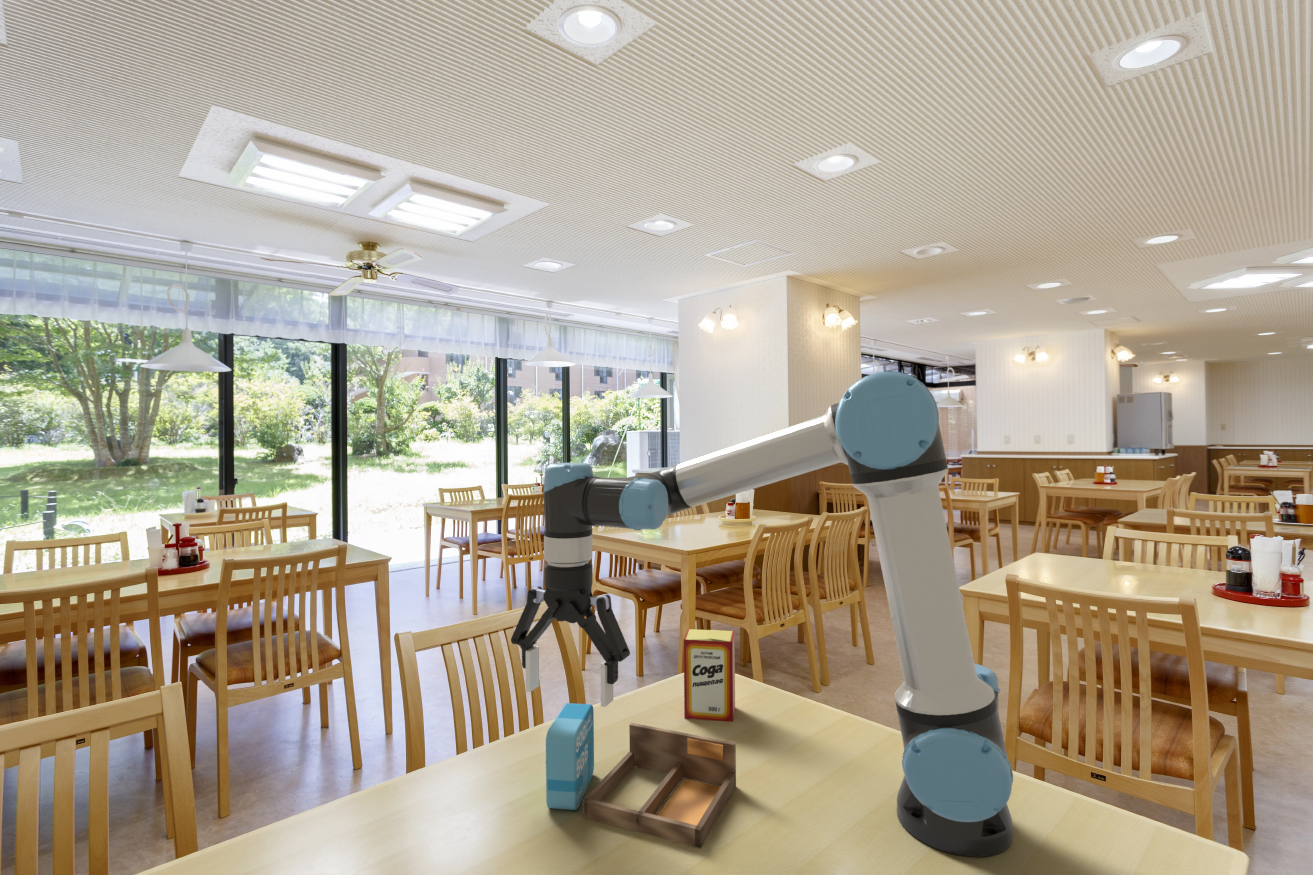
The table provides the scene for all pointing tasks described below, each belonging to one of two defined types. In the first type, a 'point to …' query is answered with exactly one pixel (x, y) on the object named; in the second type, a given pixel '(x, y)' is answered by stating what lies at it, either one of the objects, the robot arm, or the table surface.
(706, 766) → the rack
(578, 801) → the blue rounded block
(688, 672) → the baking soda box
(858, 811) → the table surface
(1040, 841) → the table surface
